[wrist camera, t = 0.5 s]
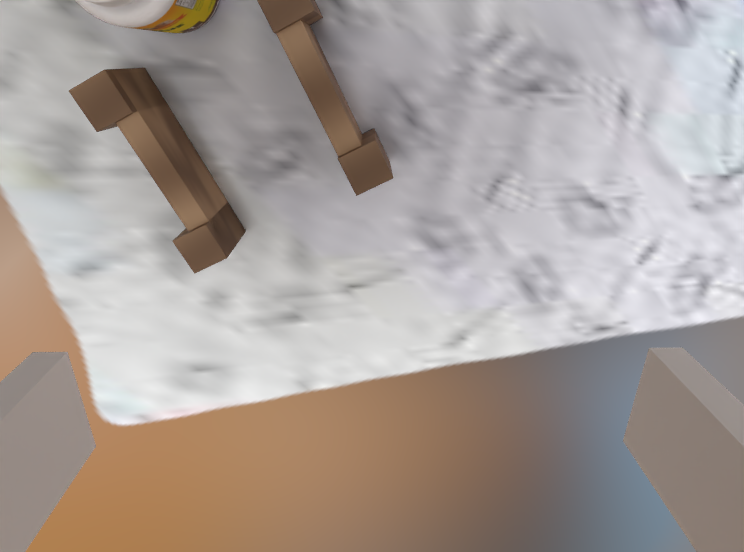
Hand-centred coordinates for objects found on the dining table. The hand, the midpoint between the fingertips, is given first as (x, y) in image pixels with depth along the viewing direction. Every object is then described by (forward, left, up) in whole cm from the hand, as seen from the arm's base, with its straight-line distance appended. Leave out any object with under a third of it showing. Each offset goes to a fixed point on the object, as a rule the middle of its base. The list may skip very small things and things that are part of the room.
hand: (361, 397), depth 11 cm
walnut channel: (-6, -5, -24) cm, 26 cm away
